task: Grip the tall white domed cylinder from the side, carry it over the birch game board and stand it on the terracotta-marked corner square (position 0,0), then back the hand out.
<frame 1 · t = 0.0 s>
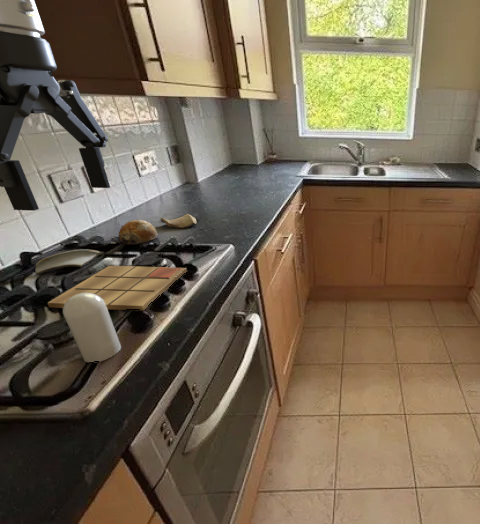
hand: (68, 197, 51), 26 cm above the worktop, tool pointing down, fingers open, 13 cm apart
pottery shard: (180, 225, 119), on the worktop
ceramic fragment: (71, 265, 88), on the worktop
white domed cylinder: (102, 352, 58), on the worktop
bread roll: (139, 240, 105), on the worktop
game board: (125, 287, 78), on the worktop
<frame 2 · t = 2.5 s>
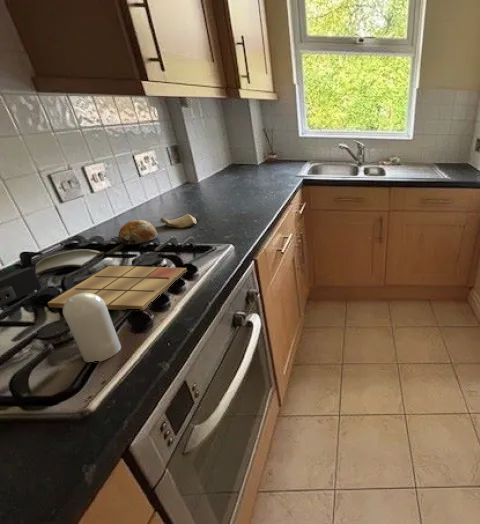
nothing on the worktop moved.
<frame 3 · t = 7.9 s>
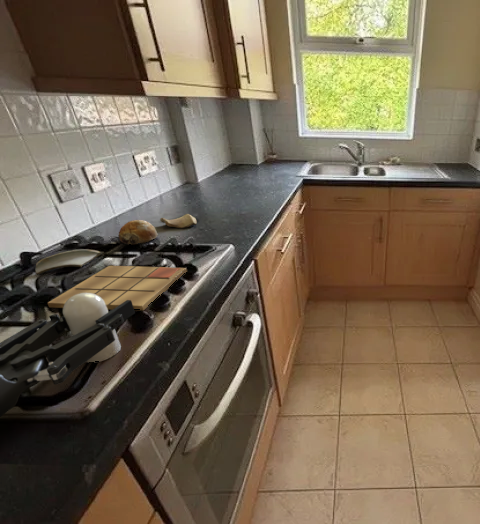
hand: (115, 304, 60), 7 cm above the worktop, tool horizontal, fingers closed on white domed cylinder, 5 cm apart
white domed cylinder: (102, 352, 58), on the worktop, touching gripper
everything else where it was.
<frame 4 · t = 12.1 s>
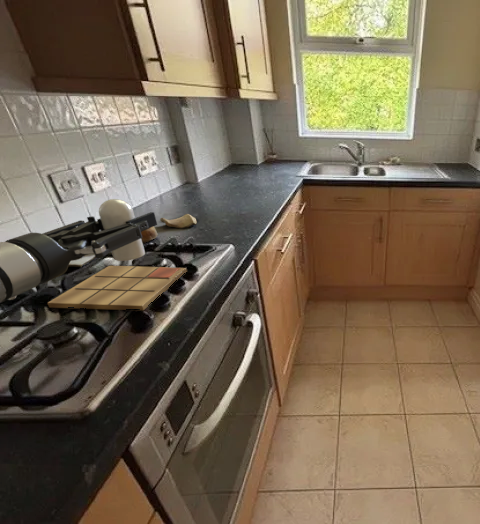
hand: (140, 217, 70), 18 cm above the worktop, tool horizontal, fingers closed on white domed cylinder, 5 cm apart
white domed cylinder: (129, 255, 68), point 11 cm above the worktop, touching gripper
everything else where it was.
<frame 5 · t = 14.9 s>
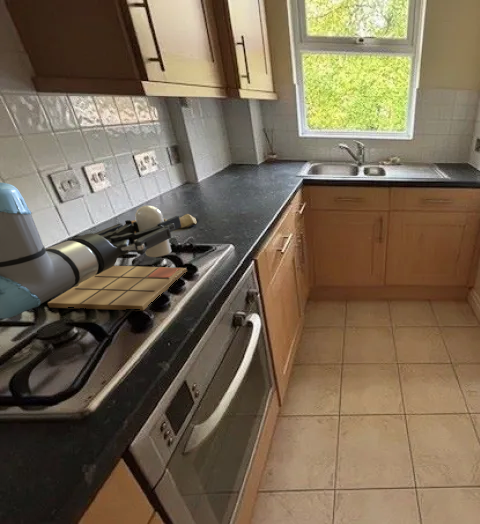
hand: (167, 220, 82), 13 cm above the worktop, tool horizontal, fingers closed on white domed cylinder, 5 cm apart
white domed cylinder: (159, 252, 80), point 7 cm above the worktop, touching gripper
everything else where it was.
when the fingers open (8 cm above the worktop, at t = 16.7 s): white domed cylinder stays where it is, resting on game board.
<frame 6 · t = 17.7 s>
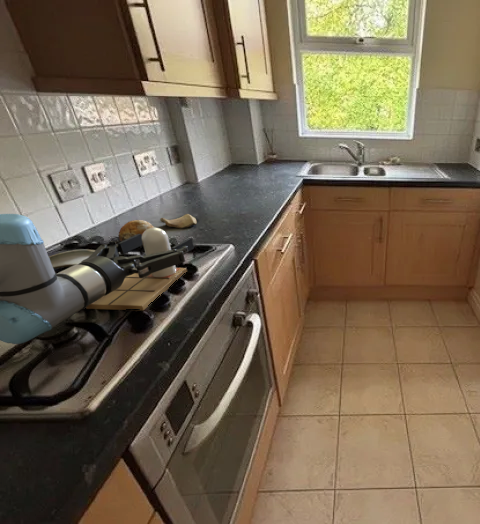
hand: (166, 240, 83), 8 cm above the worktop, tool horizontal, fingers open, 13 cm apart
white domed cylinder: (164, 272, 83), point 1 cm above the worktop, touching game board
everything else where it was.
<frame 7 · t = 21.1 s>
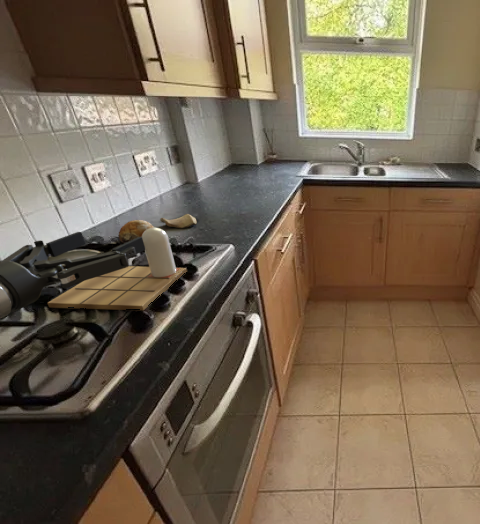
hand: (111, 240, 68), 14 cm above the worktop, tool horizontal, fingers open, 13 cm apart
nothing on the worktop moved.
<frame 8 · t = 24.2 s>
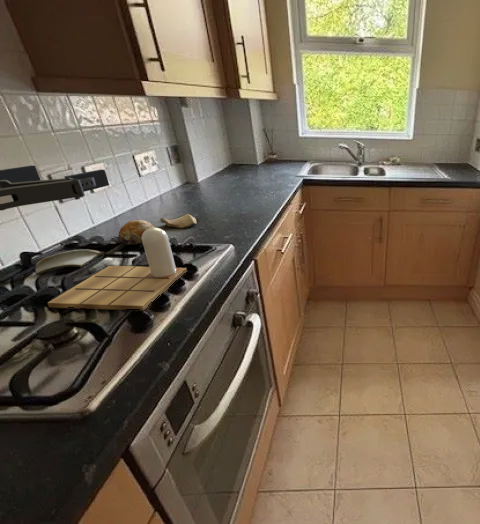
hand: (70, 175, 58), 28 cm above the worktop, tool horizontal, fingers open, 13 cm apart
nothing on the worktop moved.
at the end: white domed cylinder 0.1 cm from the target spot on the game board, point 1.3 cm above the game board's base; white domed cylinder tilted 0°; the gripper is holding nothing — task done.
